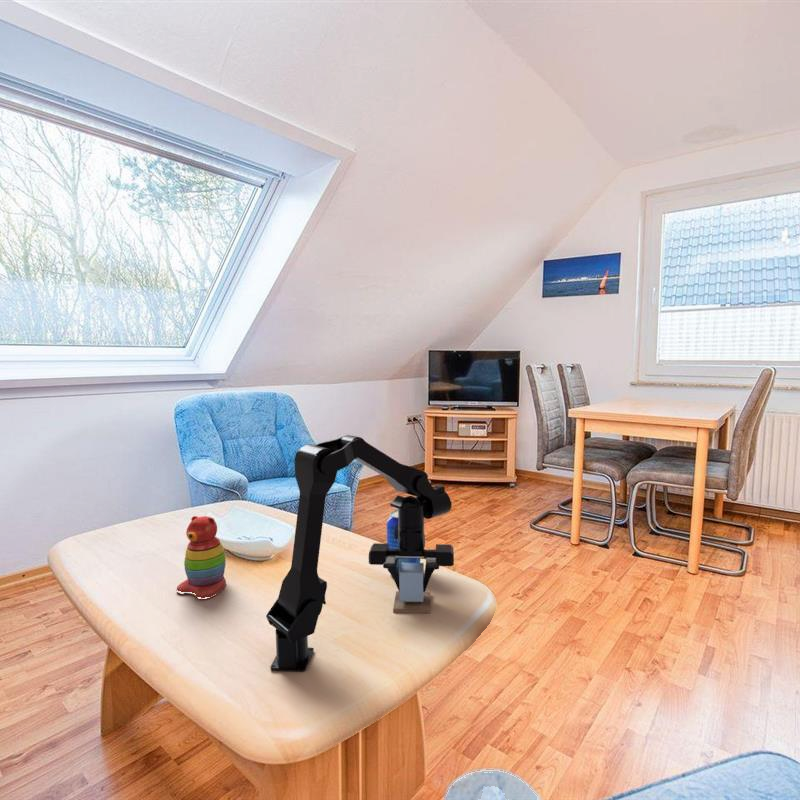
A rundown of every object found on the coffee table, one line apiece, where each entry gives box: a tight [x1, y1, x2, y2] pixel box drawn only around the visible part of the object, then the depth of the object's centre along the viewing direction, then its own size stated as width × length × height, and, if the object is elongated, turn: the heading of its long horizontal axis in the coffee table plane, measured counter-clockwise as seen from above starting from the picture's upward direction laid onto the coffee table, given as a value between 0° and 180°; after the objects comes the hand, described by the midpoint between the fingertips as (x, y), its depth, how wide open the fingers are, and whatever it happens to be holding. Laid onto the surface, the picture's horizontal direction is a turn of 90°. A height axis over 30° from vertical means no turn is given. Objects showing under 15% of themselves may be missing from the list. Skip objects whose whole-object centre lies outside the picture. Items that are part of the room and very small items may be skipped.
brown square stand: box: [392, 590, 431, 614], centre depth 112 cm, size 8×8×6 cm
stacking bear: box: [176, 515, 227, 598], centre depth 121 cm, size 11×10×18 cm
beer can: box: [386, 509, 421, 577], centre depth 127 cm, size 8×8×16 cm
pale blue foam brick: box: [398, 562, 425, 602], centre depth 112 cm, size 5×5×7 cm
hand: (412, 590), depth 112 cm, fingers closed on pale blue foam brick, 5 cm apart
